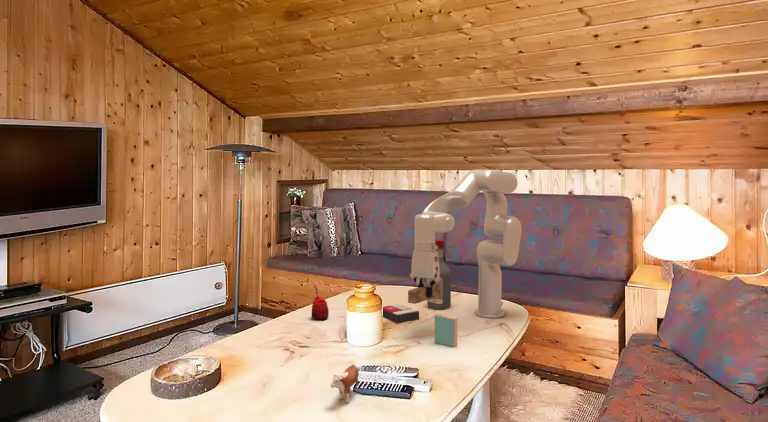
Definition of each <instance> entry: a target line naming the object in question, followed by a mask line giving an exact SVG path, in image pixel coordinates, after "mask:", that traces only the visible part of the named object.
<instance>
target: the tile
mask: <svg viewBox="0 0 768 422" xmlns="http://www.w3.org/2000/svg"><path fill="white" fill-rule="evenodd" d="M434 343H435V344H440V345H444V346H448V347H452V348H455V347H457V346H458V317H455V316H452V315H446V314H441V313H436V314H434Z"/></svg>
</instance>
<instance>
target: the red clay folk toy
mask: <svg viewBox="0 0 768 422" xmlns="http://www.w3.org/2000/svg"><path fill="white" fill-rule="evenodd" d="M313 288H315V294H316V296H315V299H314V300H313V302H312V306H311V317H312V319H313V320H315V321H323V320H325V321H326V320H328V318H329V315H330V314H329V313H330V312H329V307H328V302H327V301H326V299H325V298H323V297H320V296H318V295H319V294H318V290H319V289H318V287H317V284H316V285H315V284H313Z"/></svg>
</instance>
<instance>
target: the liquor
mask: <svg viewBox="0 0 768 422" xmlns="http://www.w3.org/2000/svg"><path fill="white" fill-rule="evenodd" d="M435 245H436V246H438V249H435V251H437V253H438V258H439V267H440V278H441V281H439V282H436V283H435V284H441V286H440V296H439V297H435V298H432V299H429V300H426V302H427V304H426V305H427V307H428V309H432V310H436V311H444V310H448V309H450V308H451V305H452V304H451V303H452V301H451V297H452V295H451V292H452V291H451V290H452V289H451V288H452V285H451V284H452V271H451V269H450V268H449V267H448V265H447V264H446V263H445V260H444V248H445V247H444V240H443V239H435ZM434 280H435V277H434Z"/></svg>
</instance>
